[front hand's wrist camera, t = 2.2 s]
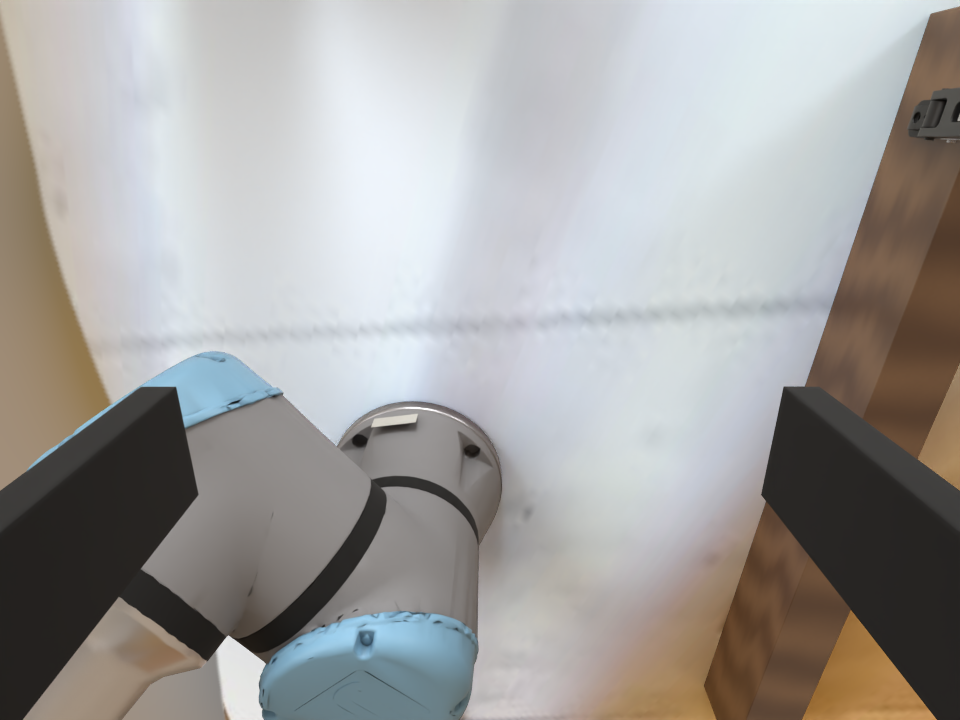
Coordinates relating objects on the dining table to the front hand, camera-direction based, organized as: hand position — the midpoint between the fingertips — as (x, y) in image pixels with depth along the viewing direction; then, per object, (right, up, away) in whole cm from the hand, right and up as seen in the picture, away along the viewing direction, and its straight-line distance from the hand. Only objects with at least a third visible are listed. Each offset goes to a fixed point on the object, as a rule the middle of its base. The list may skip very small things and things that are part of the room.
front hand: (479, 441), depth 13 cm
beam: (+29, -4, +37) cm, 47 cm away
